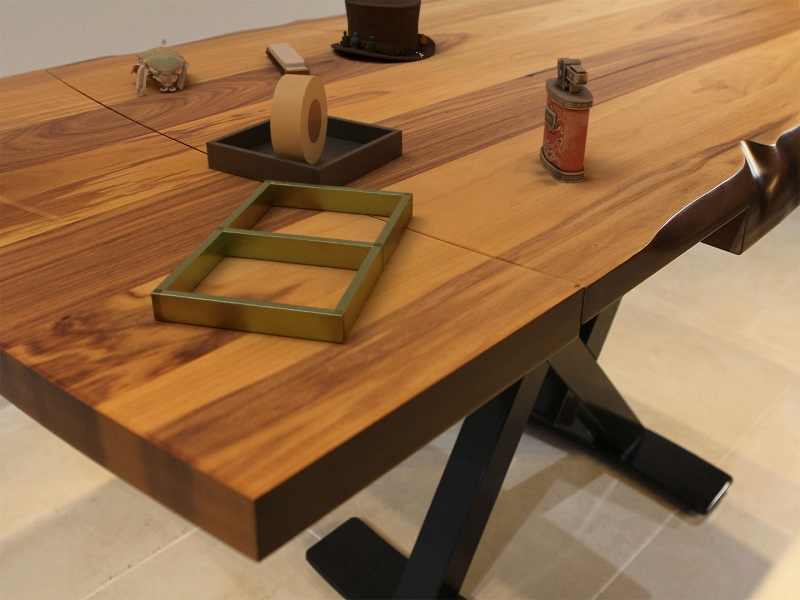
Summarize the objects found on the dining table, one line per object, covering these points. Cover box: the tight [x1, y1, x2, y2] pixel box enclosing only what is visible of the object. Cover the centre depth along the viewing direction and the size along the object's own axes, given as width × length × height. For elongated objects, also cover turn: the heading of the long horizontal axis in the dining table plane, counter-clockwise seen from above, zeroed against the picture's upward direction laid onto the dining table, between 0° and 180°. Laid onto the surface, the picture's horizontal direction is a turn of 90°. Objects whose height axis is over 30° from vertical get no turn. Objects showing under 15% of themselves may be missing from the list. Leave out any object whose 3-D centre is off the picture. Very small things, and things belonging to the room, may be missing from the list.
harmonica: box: [265, 42, 310, 76], centre depth 114 cm, size 15×3×2 cm, turn 18°
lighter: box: [539, 57, 594, 183], centre depth 79 cm, size 8×3×10 cm, turn 6°
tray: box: [205, 114, 403, 187], centre depth 82 cm, size 13×13×2 cm
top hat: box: [330, 0, 436, 61], centre depth 121 cm, size 15×15×10 cm
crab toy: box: [129, 45, 191, 97], centre depth 106 cm, size 9×11×5 cm
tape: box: [270, 74, 328, 165], centre depth 79 cm, size 3×8×8 cm, turn 167°
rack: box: [150, 180, 414, 344], centre depth 63 cm, size 13×21×2 cm, turn 167°
